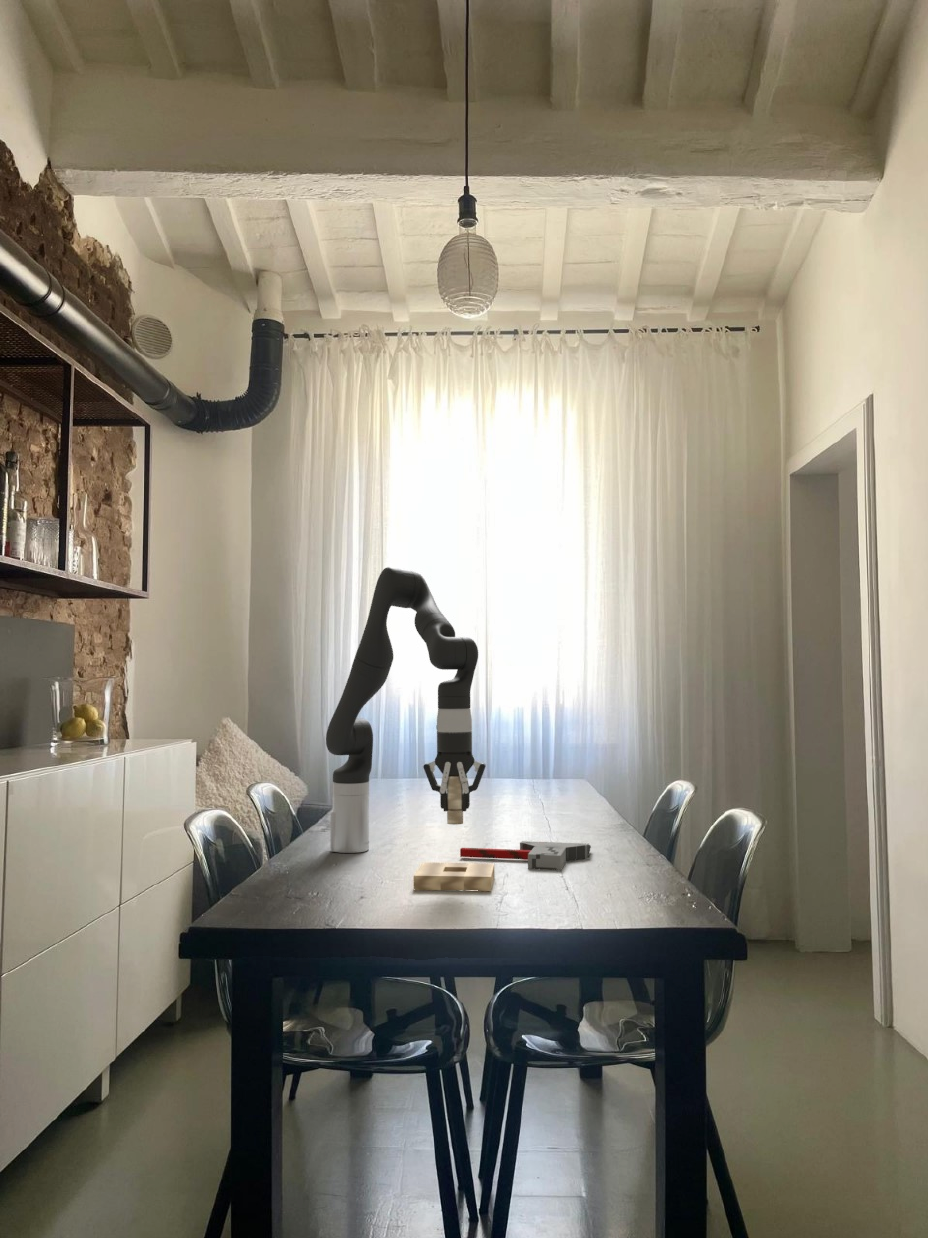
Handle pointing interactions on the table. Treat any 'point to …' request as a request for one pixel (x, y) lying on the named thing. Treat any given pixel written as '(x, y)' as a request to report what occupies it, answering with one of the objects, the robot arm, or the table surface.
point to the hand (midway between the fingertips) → (455, 810)
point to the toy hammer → (536, 853)
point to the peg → (454, 801)
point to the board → (454, 876)
